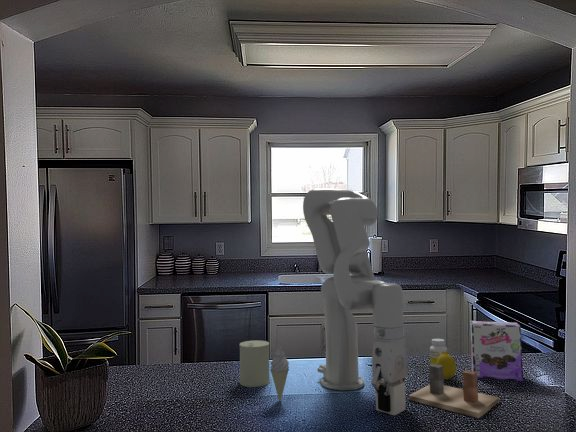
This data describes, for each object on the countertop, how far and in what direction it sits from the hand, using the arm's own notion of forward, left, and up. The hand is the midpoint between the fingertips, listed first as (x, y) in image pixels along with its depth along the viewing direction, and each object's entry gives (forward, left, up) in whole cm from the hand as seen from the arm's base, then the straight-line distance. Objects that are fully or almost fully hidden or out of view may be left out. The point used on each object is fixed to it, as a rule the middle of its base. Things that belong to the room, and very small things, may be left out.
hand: (390, 406), depth 107 cm
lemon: (0, +32, -1) cm, 32 cm away
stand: (+9, +16, -1) cm, 18 cm away
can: (-42, -8, -1) cm, 43 cm away
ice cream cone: (-25, -14, -1) cm, 29 cm away
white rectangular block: (0, 0, -1) cm, 1 cm away
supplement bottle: (-6, +40, -1) cm, 40 cm away
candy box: (+10, +45, -1) cm, 46 cm away
